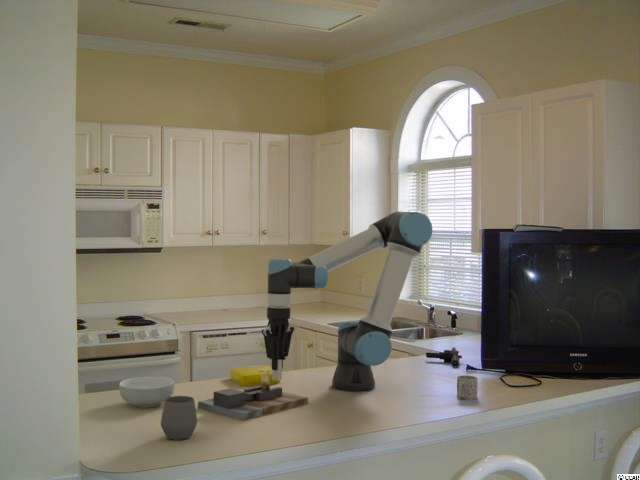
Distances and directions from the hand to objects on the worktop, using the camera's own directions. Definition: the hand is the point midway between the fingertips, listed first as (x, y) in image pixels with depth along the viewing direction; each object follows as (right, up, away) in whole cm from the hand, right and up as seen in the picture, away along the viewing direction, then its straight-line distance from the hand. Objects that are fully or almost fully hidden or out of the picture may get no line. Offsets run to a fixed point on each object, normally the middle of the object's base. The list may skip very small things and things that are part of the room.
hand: (276, 379), depth 229 cm
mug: (+62, -8, +8) cm, 63 cm away
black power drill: (+66, -7, +72) cm, 99 cm away
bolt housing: (-8, -5, -10) cm, 13 cm away
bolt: (-5, -4, -6) cm, 9 cm away
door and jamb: (-7, -7, -9) cm, 13 cm away
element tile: (-10, -7, +29) cm, 32 cm away
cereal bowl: (-40, -6, -8) cm, 41 cm away
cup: (-23, -7, -42) cm, 49 cm away
